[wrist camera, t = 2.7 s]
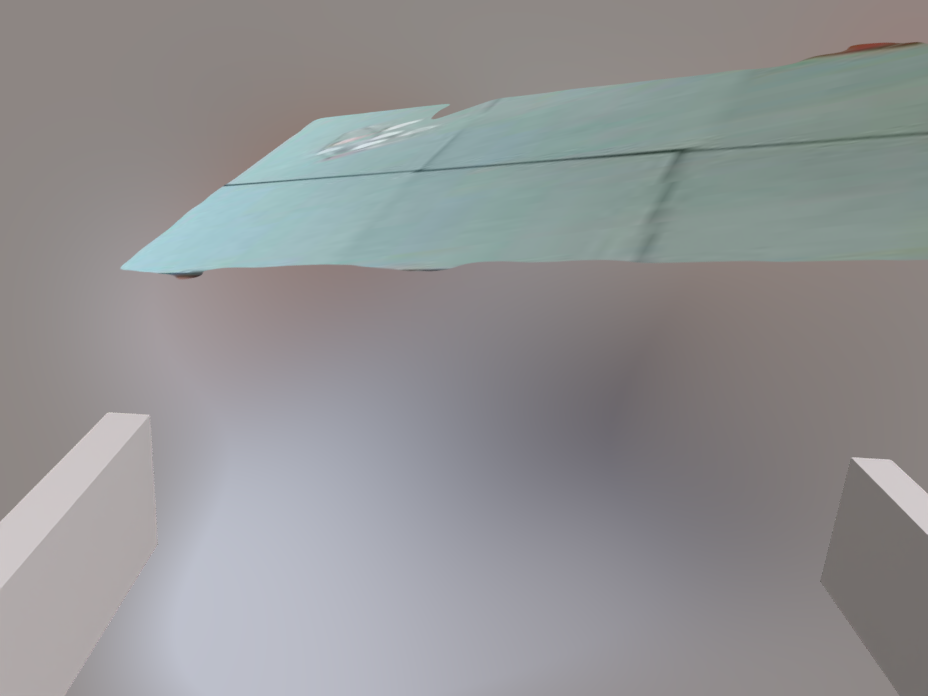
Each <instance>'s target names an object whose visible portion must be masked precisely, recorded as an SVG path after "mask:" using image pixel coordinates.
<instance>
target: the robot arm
mask: <svg viewBox="0 0 928 696" xmlns="http://www.w3.org/2000/svg"><path fill="white" fill-rule="evenodd" d="M153 474H154V473H153V457H152V439H151V423H150V415H144V414H128V413H111V412H108V413H107V414H106V415H105V416H104V417H103V418H102V419H101V420H100V421H99V422H98V423H97V424H96V425H95V426H94V427H93V428H92V429H91V430H90V431H89V432H88V433H87V434H86V435H85V436H84V437H83V438H82V439H81V440H80V441H79V442H78V443H77V445H75V447H74V448H72V450H70V451H69V452H68V454H66V455H65V457H64V458H63V459H62V460H61V461H60V462H59V463H58V464H57V465H56V466H55V467H54V468H53V469H52V470H51V471H50V472H49V473H48V474H47V475H46V476H45V477H44V478H43V479H42V480H41V481H40V482H39V483H38V484H37V485H36V486H35V487H34V488H33V489H32V490H31V491H30V492H29V493H28V494H27V495H26V496H25V497H24V498H23V499H22V500H21V501H20V502H19V503H18V504H17V505H16V507H14V508H13V509H12V510H11V511H10V512H9V513H8V514H7V515H6V517H5V518H4V519H3V520H2V521H1V522H0V696H65V694H66V693H67V691H68V689H69V688H70V686H71V684H72V683H73V681H74V680H75V678H76V676H77V675H78V673H79V672H80V670H81V668H82V667H83V665H84V663H85V662H86V660H87V659H88V657H89V655H90V654H91V652H92V650H93V649H94V647H95V646H96V644H97V642H98V641H99V639H100V637H101V636H102V634H103V632H104V631H105V629H106V628H107V626H108V624H109V623H110V621H111V619H112V618H113V616H114V615H115V613H116V611H117V610H118V608H119V606H120V605H121V603H122V602H123V600H124V598H125V597H126V595H127V593H128V592H129V590H130V589H131V587H132V585H133V584H134V582H135V580H136V579H137V577H138V576H139V574H140V572H141V571H142V569H143V567H144V566H145V564H146V563H147V561H148V559H149V558H150V556H151V554H152V553H153V551H154V550H155V548H156V546H157V545H158V540H157V523H156V507H155V490H154V475H153ZM820 582H821V583H822V584H823V586H824V587H825V589H826V590H827V592H828V593H829V595H830V596H831V597H832V599H833V600H834V602H835V603H836V604H837V606H838V608H839V609H840V610H841V612H842V613H843V615H844V616H845V618H846V619H847V620H848V622H849V623H850V625H851V626H852V628H853V629H854V631H855V632H856V633H857V635H858V636H859V638H860V639H861V641H862V642H863V643H864V645H865V646H866V648H867V649H868V651H869V652H870V653H871V655H872V657H873V658H874V659H875V661H876V662H877V664H878V665H879V667H880V668H881V669H882V671H883V672H884V674H885V675H886V677H887V678H888V679H889V681H890V682H891V684H892V685H893V687H894V688H895V690H896V691H897V693H898V694H899V695H900V696H928V494H927V493H926V492H925V491H924V490H923V489H922V488H921V487H920V486H919V485H918V484H917V483H916V482H914V481H913V480H912V479H911V478H910V477H909V476H908V475H907V474H906V473H905V472H904V471H903V470H901V469H900V468H899V467H898V466H897V465H896V464H895V463H894V462H892V460H887V459H870V458H853V457H851V460H850V464H849V468H848V472H847V476H846V481H845V484H844V488H843V493H842V496H841V500H840V504H839V508H838V512H837V516H836V520H835V524H834V528H833V532H832V536H831V540H830V544H829V549H828V552H827V556H826V560H825V564H824V568H823V572H822V576H821V580H820Z"/></svg>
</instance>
